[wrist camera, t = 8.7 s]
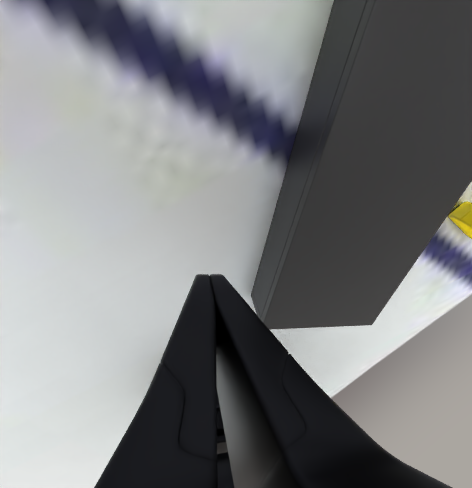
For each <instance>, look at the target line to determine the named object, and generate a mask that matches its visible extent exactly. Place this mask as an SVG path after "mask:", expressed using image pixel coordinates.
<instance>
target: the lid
mask: <svg viewBox="0 0 472 488" xmlns="http://www.w3.org/2000/svg"><path fill="white" fill-rule="evenodd" d="M471 181H472V0H334V3H333V7H332V10H331V14H330V18H329V21H328V25H327V28H326V32H325V35H324V39H323V42H322V46H321V49H320V53H319V56H318V60H317V63H316V67H315V71H314V74H313V78H312V81H311V85H310V88H309V92H308V95H307V99H306V102H305V106H304V109H303V113H302V117H301V120H300V124H299V127H298V131H297V134H296V138H295V141H294V145H293V148H292V152H291V155H290V159H289V163H288V166H287V170H286V173H285V177H284V180H283V184H282V187H281V191H280V194H279V198H278V201H277V205H276V209H275V212H274V216H273V219H272V223H271V226H270V230H269V233H268V237H267V240H266V244H265V247H264V251H263V254H262V258H261V262H260V265H259V269H258V272H257V276H256V279H255V283H254V286H253V291H252V293H251V297H252V300H253V304H254V307H255V310H256V314H257V316H258V317H259V318H260V319H261V320H262V322H263V323H264V324H265V325H266V326H267V328H268V329H289V328H312V327H336V326H360V325H372V324H373V322H374V321H375V320H376V318H377V317H378V315H379V314H380V312H381V311H382V309H383V308H384V307H385V305H386V304H387V302H388V301H389V299H390V298H391V296H392V295H393V294H394V292H395V291H396V289H397V288H398V286H399V285H400V283H401V282H402V281H403V279H404V278H405V276H406V275H407V273H408V272H409V270H410V269H411V268H412V266H413V265H414V263H415V262H416V260H417V259H418V257H419V256H420V255H421V253H422V252H423V250H424V249H425V247H426V246H427V244H428V243H429V242H430V240H431V239H432V237H433V236H434V234H435V233H436V231H437V230H438V229H439V227H440V226H441V224H442V223H443V221H444V220H445V218H446V217H447V216H448V214H449V213H450V211H451V210H452V208H453V207H454V205H455V204H456V203H457V201H458V200H459V198H460V197H461V195H462V194H463V192H464V191H465V190H466V188H467V187H468V185H469V184H470V182H471Z"/></svg>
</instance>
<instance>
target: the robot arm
mask: <svg viewBox="0 0 472 488" xmlns="http://www.w3.org/2000/svg"><path fill="white" fill-rule="evenodd" d="M94 488H452V487H450V486H447V485H446V484H444V483H442V482H440V481H438V480H436V479H434V478H432V477H430V476H428V475H426V474H424V473H423V472H421V471H418V470H417V469H414V468H413V467H411V466H409V465H407V464H405V463H403V462H402V461H400V460H399V459H397V458H395V457H394V456H392V455H391V454H390V453H388V452H387V451H386V450H384V449H383V448H382V447H381V446H380V445H378V444H377V443H376V442H375V441H374V440H373V439H372V438H371V437H370V436H368V434H366V432H365V431H363V430H362V429H361V428H360V427H359V426H358V425H357V424H356V423H355V422H354V421H353V420H352V419H351V418H350V417H349V416H348V415H347V414H346V413H345V412H344V411H343V410H342V409H341V408H340V407H339V406H338V405H337V404H336V403H335V402H334V401H333V400H332V399H331V398H330V397H329V396H328V395H327V394H326V393H325V392H324V391H323V390H322V389H321V388H320V387H319V386H318V385H317V384H316V383H315V382H314V381H313V380H312V379H311V378H310V376H309V375H308V374H307V373H306V372H305V371H304V370H303V369H302V367H301V366H300V365H299V364H298V363H297V362H296V360H295V359H294V358H293V357H292V356H291V355H290V354H288V351H287V350H286V349H285V348H284V346H283V345H282V344H281V343H280V342H279V341H278V339H277V338H276V337H275V336H274V335H273V333H272V332H271V331H270V330H269V329H268V328H267V326H266V325H265V324H264V323H263V322H262V320H261V319H260V318H259V317H258V316H257V315H256V313H255V312H254V311H253V310H252V309H251V307H250V306H249V305H248V304H247V303H246V302H245V300H244V299H243V298H242V297H241V296H240V294H239V293H238V292H237V291H236V290H235V289H234V287H233V286H232V285H231V284H230V283H229V281H228V280H227V279H226V278H225V277H224V276H223V275H221V274H212V275H210V276H209V275H208V274H198V275H196V277H195V279H194V281H193V284H192V286H191V289H190V291H189V294H188V296H187V298H186V301H185V303H184V306H183V308H182V311H181V313H180V315H179V318H178V320H177V323H176V325H175V328H174V330H173V332H172V335H171V337H170V340H169V342H168V345H167V347H166V349H165V352H164V354H163V357H162V359H161V363H160V364H159V366H158V368H157V371H156V373H155V376H154V378H153V380H152V382H151V384H150V387H149V389H148V391H147V393H146V396H145V398H144V399H143V401H142V403H141V405H140V407H139V409H138V411H137V413H136V415H135V417H134V419H133V420H132V422H131V424H130V426H129V427H128V429H127V431H126V433H125V435H124V436H123V438H122V440H121V442H120V443H119V445H118V447H117V449H116V450H115V452H114V454H113V456H112V457H111V459H110V461H109V463H108V465H107V466H106V468H105V470H104V472H103V473H102V475H101V477H100V479H99V480H98V482H97V484H96V486H95V487H94Z"/></svg>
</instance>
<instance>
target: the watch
mask: <svg viewBox="0 0 472 488" xmlns="http://www.w3.org/2000/svg"><path fill="white" fill-rule="evenodd" d="M448 217H449V218H450V219H451V220H452V221H453V222H454V223H455V224H456V225H457V226H458V227H459V228H460V229H461V230H462V231H463V233H465V234H466V235H467V236H468V237H470V238H471V239H472V203H470V202H464V203H462V204H461V205H460V206H459V207H457V208H456V209H455V210H454V211H453V212H452V213H450V214H449V215H448Z"/></svg>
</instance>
